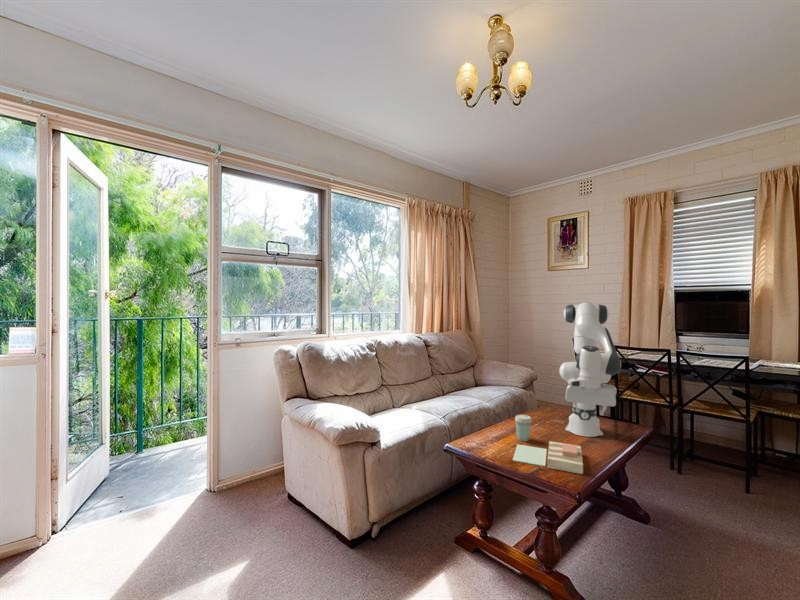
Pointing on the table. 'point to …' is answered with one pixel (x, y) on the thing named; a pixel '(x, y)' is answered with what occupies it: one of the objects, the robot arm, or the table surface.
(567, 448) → the pink rectangular block
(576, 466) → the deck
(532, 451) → the mat
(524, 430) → the coffee cup
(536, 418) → the table surface
